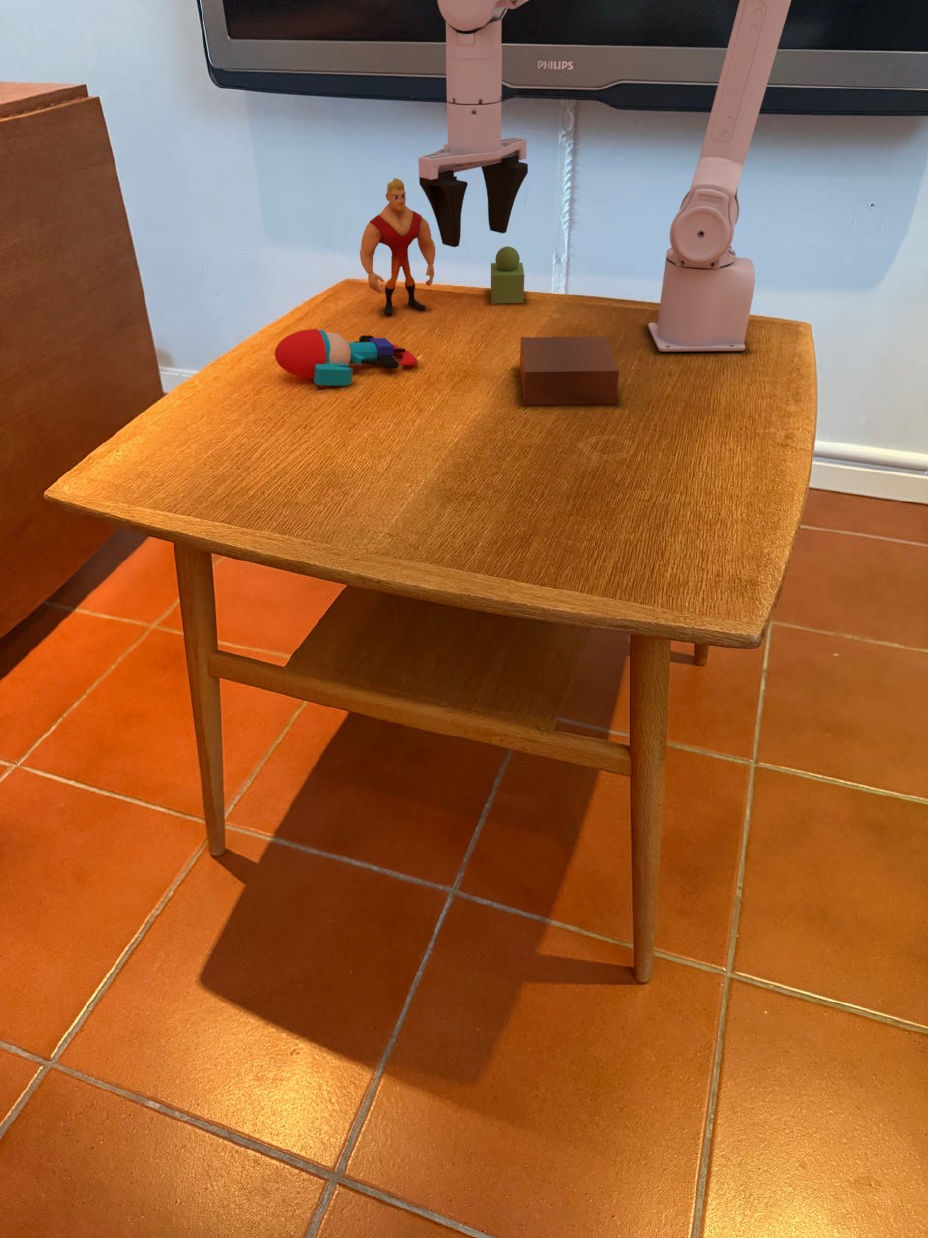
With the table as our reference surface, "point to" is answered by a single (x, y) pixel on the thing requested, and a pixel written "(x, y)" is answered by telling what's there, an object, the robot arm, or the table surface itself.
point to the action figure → (397, 244)
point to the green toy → (507, 277)
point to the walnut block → (568, 371)
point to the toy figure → (335, 355)
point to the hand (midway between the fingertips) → (474, 237)
